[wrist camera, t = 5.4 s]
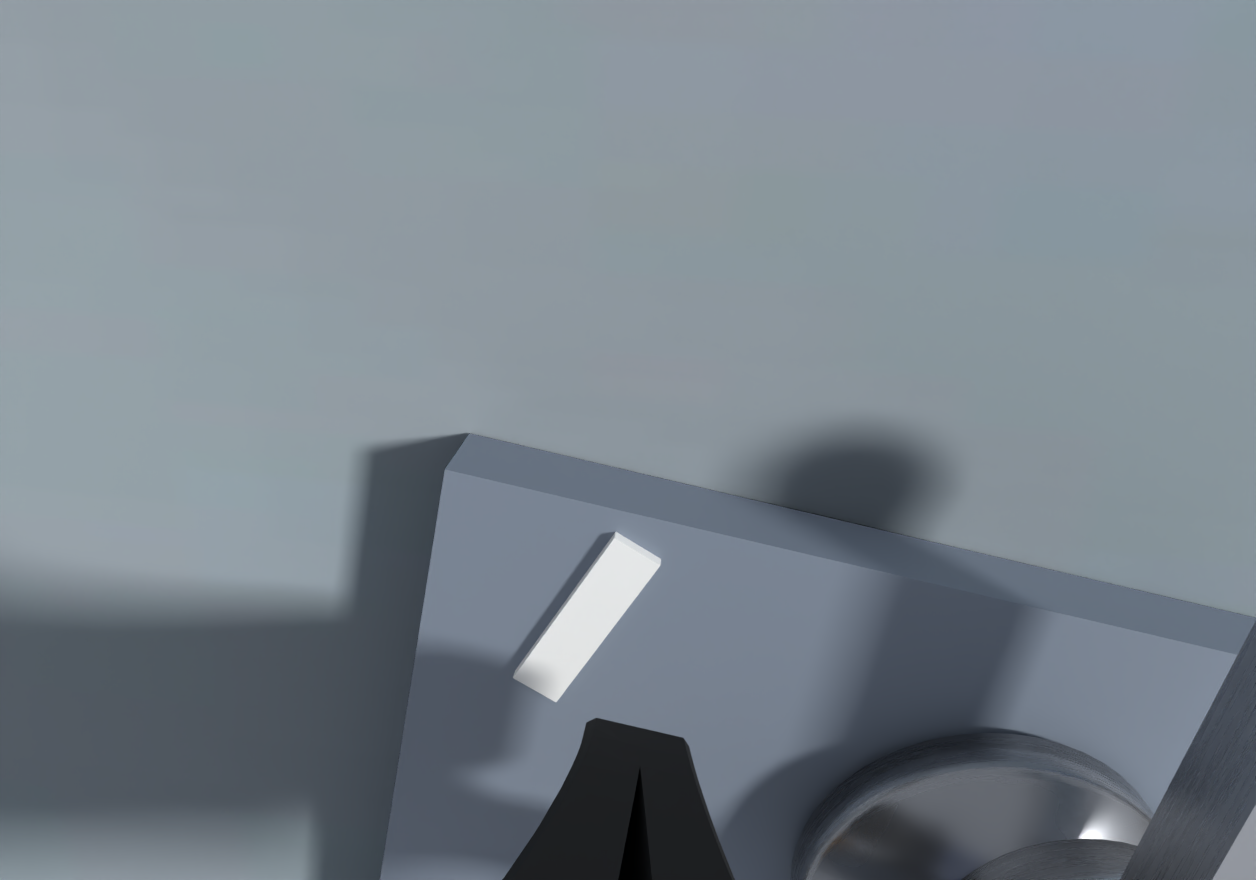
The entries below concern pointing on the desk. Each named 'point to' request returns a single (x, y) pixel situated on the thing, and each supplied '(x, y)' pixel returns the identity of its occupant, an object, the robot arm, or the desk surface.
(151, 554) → the desk surface
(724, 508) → the grey panel with crank
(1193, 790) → the capstan
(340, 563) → the desk surface
